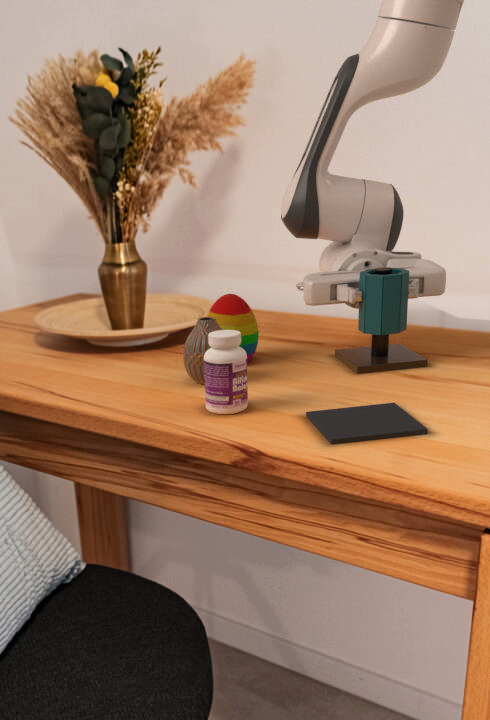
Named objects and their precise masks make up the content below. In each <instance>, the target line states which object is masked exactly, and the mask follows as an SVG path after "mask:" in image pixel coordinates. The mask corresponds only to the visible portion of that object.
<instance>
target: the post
mask: <svg viewBox="0 0 490 720" xmlns="http://www.w3.org/2000/svg"><path fill="white" fill-rule="evenodd" d="M389 274H392V268H389V267H380V268H375V269H374V275H389ZM334 357H335V358H336V359H337V360H339V361H340V362H341V363H343V364H344V365H345V366H347V367H348V369H350V370H352V371H353V372H354V373H355V374H357V375H358V374H369V373H379V372H380V373H381V372H388V371H399V370H409V369H419V368H426V367H428V359H427V358H425V357H423V356H422V355H421V354H418V352H416V351H413V350H412V349H410V348H409V347H407V346H406V345H404V344H402V343H400V342H398V343H390V334H388V335H372V334H371V345H368V346H359V347H349V348H338V349H334Z"/></svg>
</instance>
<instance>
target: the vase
mask: <svg viewBox="0 0 490 720" xmlns="http://www.w3.org/2000/svg"><path fill="white" fill-rule="evenodd" d="M218 330H222V328H221V327H220V326H219V325H218V323H217V321H216V319H215V318H214V317H207V316H201V317H199V318H198V319H197V321H196V323H195V325H194V327H193V329H192V330H191V331H190V333H189V335H188V336H187V338H186V340H185V342H184V346H183V352H182V357H183V365H184V369H185V372H186V374H187V376H189V378H190V379H191V380H192V381H193V382H194V383H196V384H198V385H205V376H204V354H205V353H206V351H207V350H208V349H210V348H211V347H210V346H209V344H208V334H209V333H211V332H214V331H218Z"/></svg>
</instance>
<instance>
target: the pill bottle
mask: <svg viewBox="0 0 490 720" xmlns="http://www.w3.org/2000/svg"><path fill="white" fill-rule="evenodd" d="M208 344H209V346H210V347H211V348H210V349H208V350H207V351H206V353H205V354H204V376H205V384H204V395H205V399H204V400H205V409H206V410H207V411H208V412H210V413H212V414H217V415H233V414H238V413H241V412H243V411H245V410H246V409H247V408H248V405H249V392H248V391H249V390H248V389H249V387H248V362H247V354H246V352H245V350H244V349H243V348H241V347H239V345H240V344H241V333H240V332H239V331H236V330H218V331H214V332H211V333H209V334H208Z"/></svg>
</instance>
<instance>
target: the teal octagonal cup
mask: <svg viewBox="0 0 490 720" xmlns="http://www.w3.org/2000/svg"><path fill="white" fill-rule="evenodd" d="M359 288H360V289H362V292H363V295H362V303H359V309H358V318H357V319H358V321H357V323H358V324H357V330H358V331H359V332H361V333H362V334H364V335H371V336H372V335H388V334H389V335H395V334H396V335H397V334H401V333H402V332H404V331H406V330H407V326H408V325H407V324H408V307H409V299H408V290H409V271H408V270H406V269H403V268H392V274H389V275H374V269H367V270H365V271H362V272H360V282H359Z"/></svg>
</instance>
